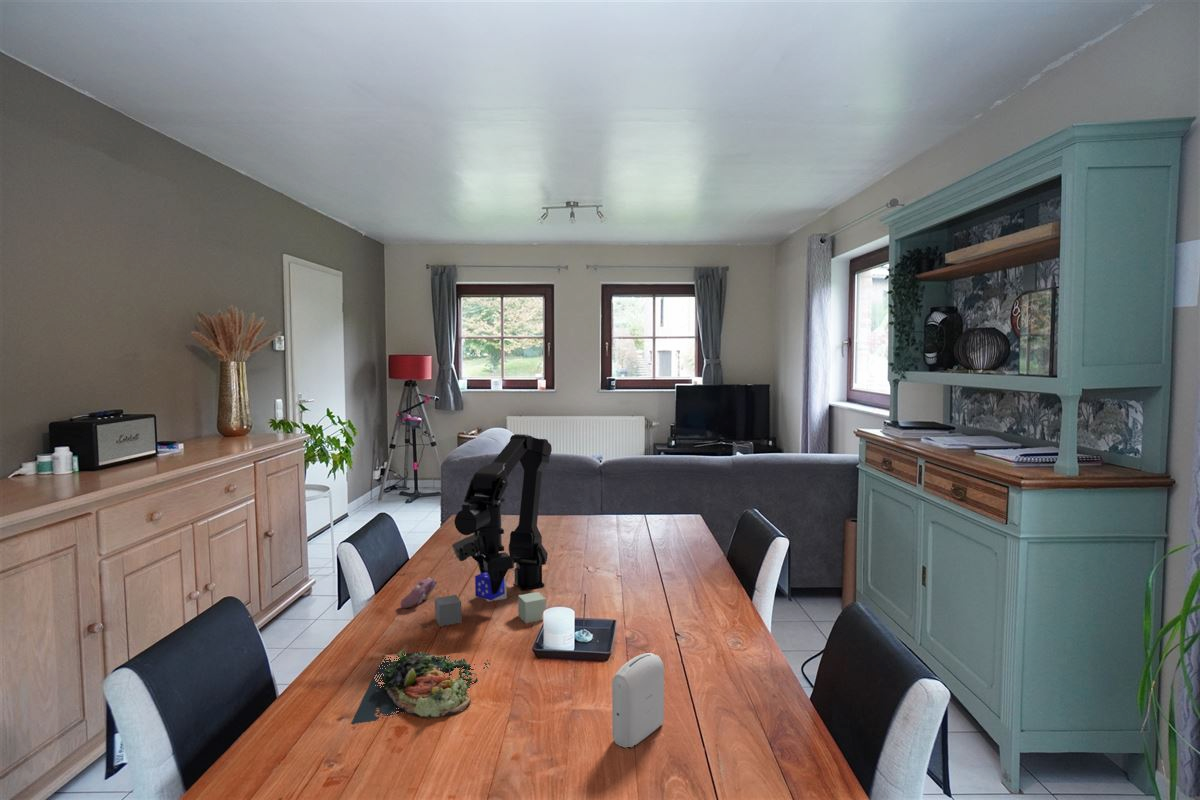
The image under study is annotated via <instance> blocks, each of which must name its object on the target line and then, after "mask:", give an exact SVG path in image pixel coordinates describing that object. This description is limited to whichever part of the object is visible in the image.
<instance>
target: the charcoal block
mask: <svg viewBox="0 0 1200 800" xmlns="http://www.w3.org/2000/svg"><path fill="white" fill-rule="evenodd" d="M462 611H463V610H462V600H461V599H460V598H459V597H458V595H457V594H454V595H453V594H452V595H446V596H440V597H435V598H434V619H435V621H436V622H437V624H438V626H439V627H440V626H441V627H445V626H444V625H447V626H451V625H450V624H452V625H455V623H458V624H461V623H460V622H462V623H463V620H462V619H463V618H462V615H463V613H462Z"/></svg>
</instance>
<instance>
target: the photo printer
mask: <svg viewBox="0 0 1200 800" xmlns="http://www.w3.org/2000/svg"><path fill="white" fill-rule="evenodd" d="M664 669H665V667H664V663H663V660H662V659H661V657H660V656H659V655H658V654H654V653H652V652H648V653H647V652H646V653H641V654H638V655H637V656H635V657H633V658H631V659H630V660H628V661H627V662H626V663H624V664H623V665H622V666H621V667H620V668H619V669H618V670H617V671H616V672H615V674H614V676H613V678H612V682H611V688H612V689H611V691H612V692H611V694H612V696H611V698H612V701H611V703H612V705H611V706H612V711H611V713H612V716H611V719H612V720H611V721H612V722H611V723H612V724H611V725H612V726H611V727H612V728H611V729H612V739H613V741H614V742H615V745H617V744H618V745H619V746H618V745H617V746H618V747H620V746H622V747H631V748H634V747H635V746H637V744H639V743H641V742H642V741H643V740H645V739H646V738H647V737H649V736H650V735H651V734H652V733H654V732H655V731H656V730H657V729H659V728H660V726H662V724H663V723H664V720H665V719H664V718H665V703H664V702H665V697H664V696H665V671H664ZM634 745H635V746H634ZM622 747H621V748H622Z"/></svg>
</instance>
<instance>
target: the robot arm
mask: <svg viewBox="0 0 1200 800" xmlns="http://www.w3.org/2000/svg"><path fill="white" fill-rule="evenodd" d="M552 450H553V449H552V444H551V442H549V441H548V439H546V438H536V437H535V436H531V435H529V434H520V433H519V434H518V433H515V434H513V435H511V436H510V438H509V442H508V443H506V445H505V446H504V448H503V449H502V450H501V451H500V452H499V454H497V457H495V459H494V460H493V461H492V462H491V463H490V464H487V465H485V466H483V467H481V468H479V469H478V470H477V471H475V473H474V474H473V476H472V477H471V480H470V483H469V485H468V487H467V488H468V489H467V491H466V495H465V497H464V501H463V502H464V504H462V506H461V510H460V511H458V512H457V513H456V514H455V518H454V520H453V521H454V526H455V528H456V531H458V533H459V534H462V535H464V536H466V537H464V538H463V539H460V540H458V541H456V542H454V543H453V544H452V545H451V547H452V549H453V553H454V554H455V556H456V558H457V559H458V561H459V562H464V561H466V560H467V559H468V558H470V557H471V558H472V559H473V560H474V561H475V562H477V566H478V570H479V574H481V573H483V572H487V573H488V574H489V580H490V586H491V591H492V594H497V592H498V590H499V588H500V585H501V583H502V581H503V579H504V578H505V576H506V575H507V573H508V572H509V570H512V569H514V581H513V582H514V584H515V585H516V586H517V587H518V588H519V589H520V590H522V591H524V590H525V591H526V590H529V589H530V590H531V589H536V588H542V587H545V583H544V582H543V566H544V565H546V564H547V561H548V556H549V555H548V551H547V550H546V549H545V546H544V545H543V541H542V540H543V537H542V534H541V532H540V530H539V528H538V518H539V517H538V516H539V507H540V497H541V487H542V486H541V485H542V475H543V474H542V473H543V471H544V469H546V467H547V465H548V464H549V462H550V458H551V457H550V456H551V455H552ZM518 463H520V465H521V467H522V469H523V477H522V485H521V486H522V488H521V495H520V496H521V497H520V506H519V507H520V509H519V519H518V525H517V526H516V528H515V529H514V530H512V531H511V532H510V534H509V544H508V553H507V552H506V551H505V546H504V545H503V543H502V535H504V534H505V529H504V528H502V503H505V502H506V500H505V499H506V498H504V497H503V495H504V492H505V491H506V489H507V486H509V485H508V484H509V482H508V477H509V475H510V474H511V472H512V471H513V470H514V468H515V467H516V466H517V465H518Z"/></svg>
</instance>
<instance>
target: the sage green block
mask: <svg viewBox="0 0 1200 800" xmlns="http://www.w3.org/2000/svg"><path fill="white" fill-rule="evenodd" d="M517 599H518V600H517V602H518V605H517V606H518V607H517V608H518V609H517V610H518V613H517V614H518V618H520V619H521V621H523V622H524V623H525V624H530V623H529V622H531V623H534V622H533V621H536V622H539V621H538V620H541V621H543V620H542V614H543V611H544V610H545V609H546V610H547V605H546V604H547V601H546V600H547V598H545V596H543V595H542V594H541V593H540V592H539V591H537V592H535V591H534V592H530V593H525V594H518V597H517Z"/></svg>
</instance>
